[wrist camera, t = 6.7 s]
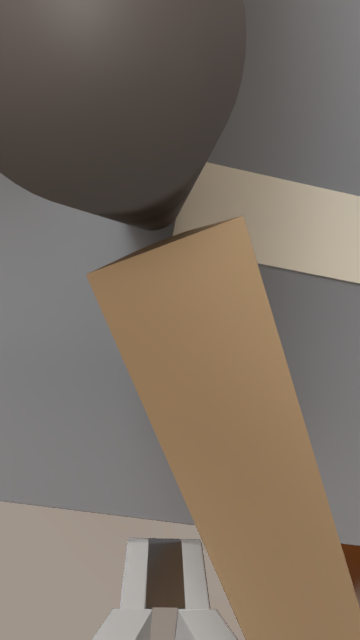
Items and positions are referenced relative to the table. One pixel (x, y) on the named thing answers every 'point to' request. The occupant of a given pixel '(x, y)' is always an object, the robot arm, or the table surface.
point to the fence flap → (232, 427)
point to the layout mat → (198, 210)
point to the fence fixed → (116, 100)
